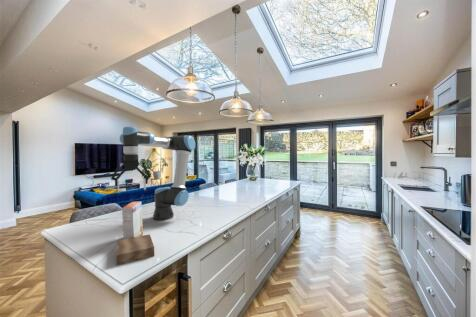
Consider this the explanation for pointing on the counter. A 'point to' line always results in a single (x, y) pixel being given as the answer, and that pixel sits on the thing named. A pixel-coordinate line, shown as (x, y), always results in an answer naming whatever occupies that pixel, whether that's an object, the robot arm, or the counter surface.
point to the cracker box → (132, 220)
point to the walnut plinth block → (134, 249)
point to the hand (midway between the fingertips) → (132, 190)
